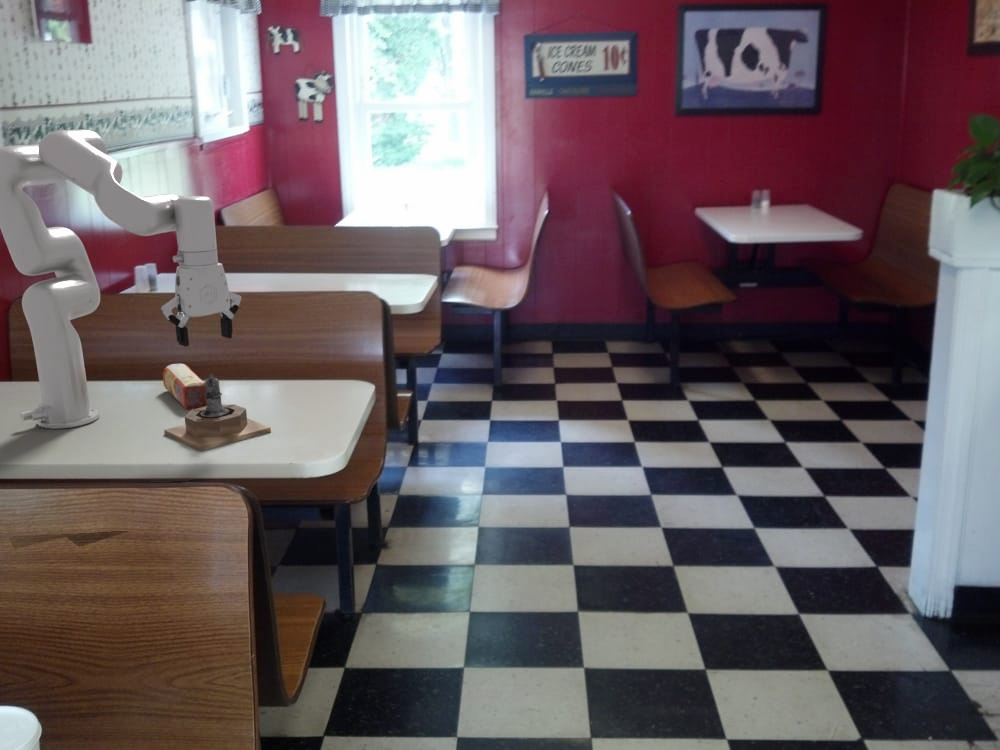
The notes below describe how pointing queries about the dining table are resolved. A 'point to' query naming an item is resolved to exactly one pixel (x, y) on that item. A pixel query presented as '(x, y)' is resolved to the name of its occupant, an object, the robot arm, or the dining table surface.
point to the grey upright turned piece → (213, 400)
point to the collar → (216, 428)
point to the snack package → (185, 386)
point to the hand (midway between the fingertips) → (205, 341)
